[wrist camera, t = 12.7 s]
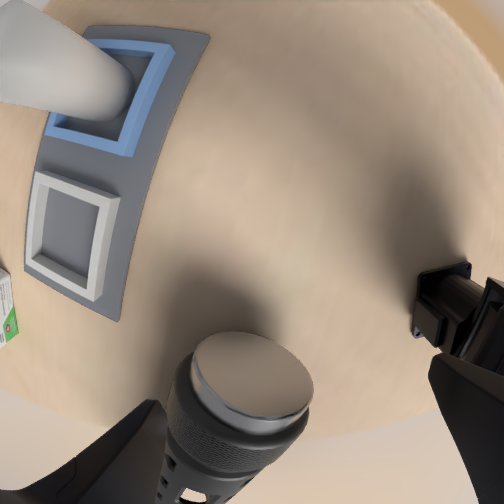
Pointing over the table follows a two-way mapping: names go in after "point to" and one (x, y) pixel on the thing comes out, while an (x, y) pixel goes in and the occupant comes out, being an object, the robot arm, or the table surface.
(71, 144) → the duct plate
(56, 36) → the white piece
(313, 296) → the table surface
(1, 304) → the ink box
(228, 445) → the black silver cylinder
